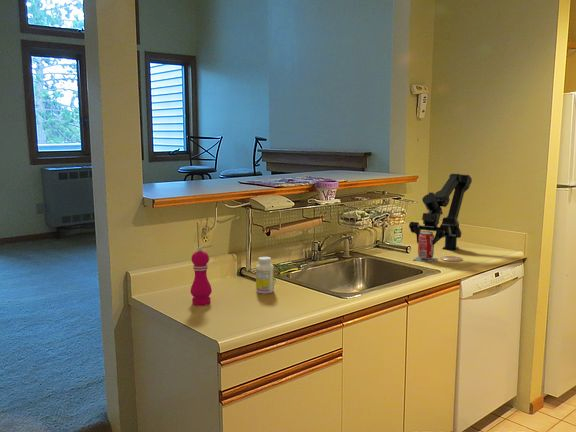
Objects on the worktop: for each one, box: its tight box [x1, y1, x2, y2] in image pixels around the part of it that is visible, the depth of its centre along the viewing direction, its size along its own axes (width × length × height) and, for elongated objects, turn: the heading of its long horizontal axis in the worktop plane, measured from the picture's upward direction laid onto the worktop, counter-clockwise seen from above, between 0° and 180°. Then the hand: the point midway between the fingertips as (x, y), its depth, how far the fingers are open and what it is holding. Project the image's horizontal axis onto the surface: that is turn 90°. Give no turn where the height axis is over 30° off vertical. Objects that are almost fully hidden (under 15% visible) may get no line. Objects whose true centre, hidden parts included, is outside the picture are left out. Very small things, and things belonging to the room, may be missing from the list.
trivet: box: [439, 255, 463, 263], centre depth 254 cm, size 10×10×1 cm
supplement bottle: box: [255, 256, 275, 295], centre depth 203 cm, size 7×7×13 cm
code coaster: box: [412, 255, 439, 264], centre depth 254 cm, size 9×9×1 cm
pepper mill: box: [190, 246, 213, 307], centre depth 189 cm, size 7×7×20 cm
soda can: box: [417, 230, 435, 259], centre depth 253 cm, size 7×7×12 cm
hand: (425, 243), depth 252 cm, fingers closed on soda can, 7 cm apart
